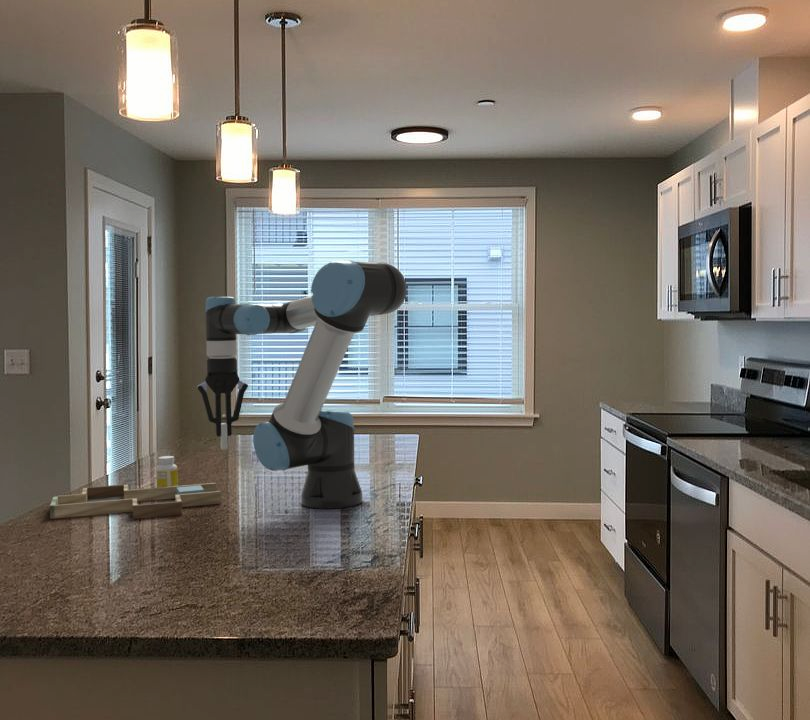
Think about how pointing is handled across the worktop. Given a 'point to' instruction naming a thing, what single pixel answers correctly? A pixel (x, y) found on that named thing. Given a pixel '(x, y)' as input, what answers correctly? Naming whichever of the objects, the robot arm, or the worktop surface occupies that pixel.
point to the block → (190, 489)
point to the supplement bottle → (167, 472)
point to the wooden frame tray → (131, 501)
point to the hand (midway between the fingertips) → (224, 448)
